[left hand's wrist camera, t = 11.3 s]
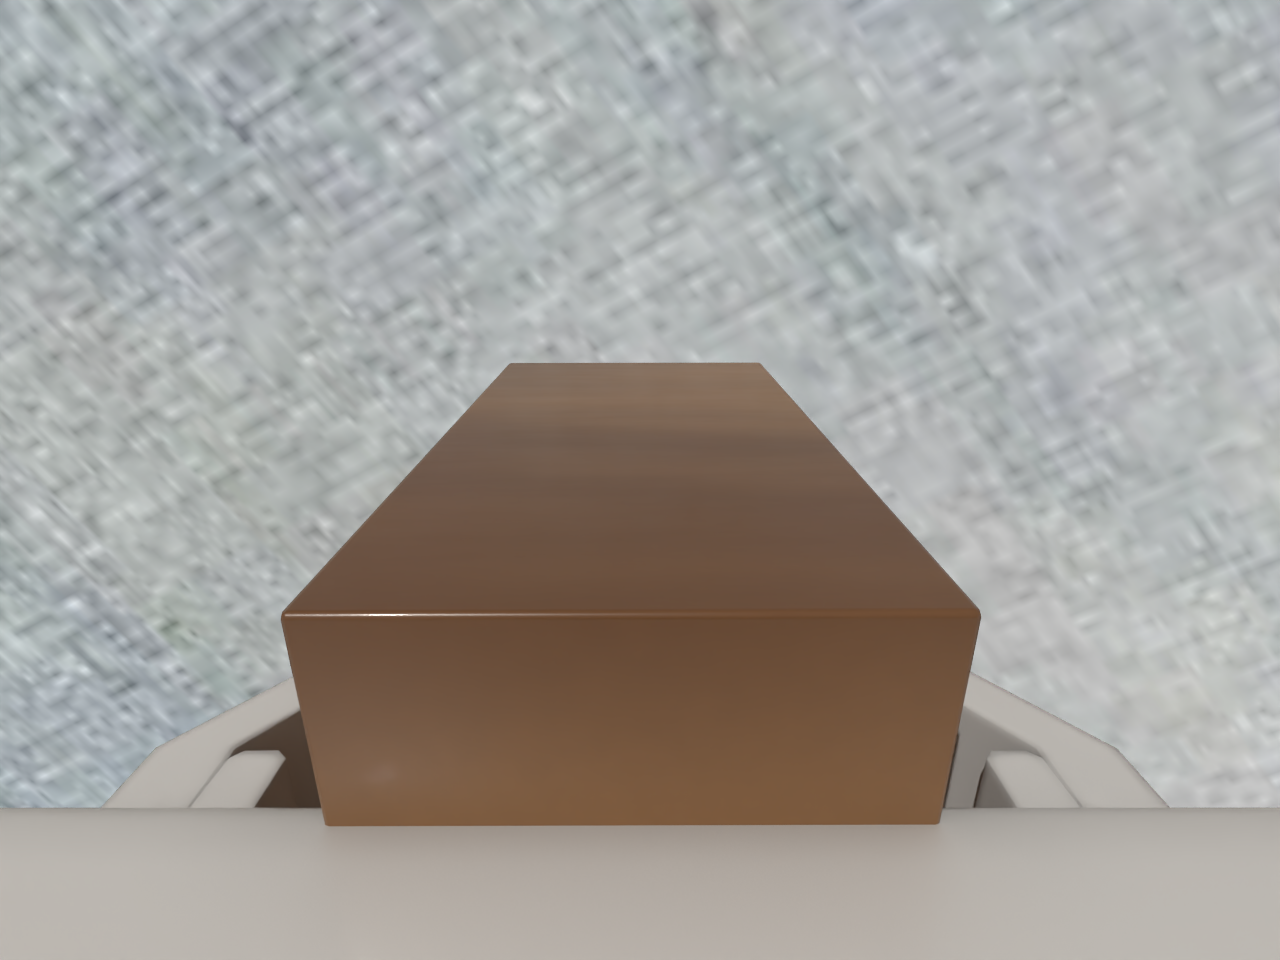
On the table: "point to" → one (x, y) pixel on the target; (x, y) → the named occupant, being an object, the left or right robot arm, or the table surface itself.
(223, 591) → the table surface
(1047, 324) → the table surface
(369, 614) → the bar
